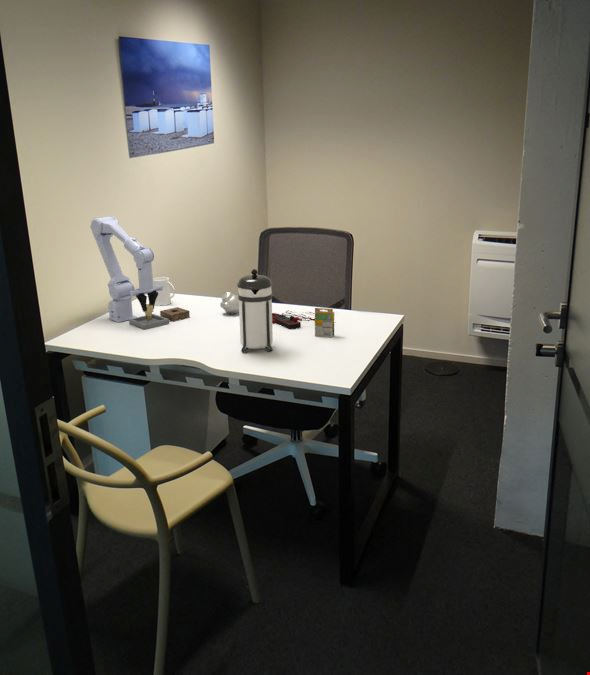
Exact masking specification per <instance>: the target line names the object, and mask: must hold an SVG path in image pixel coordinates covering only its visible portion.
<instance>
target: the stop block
mask: <svg viewBox="0 0 590 675" xmlns="http://www.w3.org/2000/svg"><path fill="white" fill-rule="evenodd" d="M159 316H161V317H164V318H167V319H169V320H170V321H169V322H172V321H173V322H176V321H175V320H177V321H180V320H179V319H181V320H184V319H183V318H186V319H188V318H187V317H190V316H191V315H190V310H187V309H184V308H182V307H177V306H175V307H173V308H168V309H163V310H160V311H159ZM190 318H191V317H190Z"/></svg>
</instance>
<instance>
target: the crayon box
mask: <svg viewBox="0 0 590 675" xmlns="http://www.w3.org/2000/svg"><path fill="white" fill-rule="evenodd" d="M314 314H315V315H314V319H315V321H314V336H315V337H319V338H320V337H321V338H322V337H324V338H332V337H335V322H334V321H335V311H334V309H333V308H321V307H320V308H319V307H314Z"/></svg>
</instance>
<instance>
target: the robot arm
mask: <svg viewBox="0 0 590 675" xmlns="http://www.w3.org/2000/svg"><path fill="white" fill-rule="evenodd" d="M90 230H91V233H92V234H93V237H94V240H95V242H96V245H97V247H98V249H99V250H98V251H99V252H100V255H101V258H102V260H103V262H104V265H105V267H106V270H107V273H108V275H109V277H110V279H109V282H108V283H107V287H108V294H109V295H110V298H111V301H109V302H108V305H107V306H108V314H109V316H108V317H109V318H108V319H109V320H111V321H114V322H116V323H120V322H125V321H129V319H133V318H137V316H136V315H134V313H133V311H134V310H133V304H132V303H133V301H132V298H133V297H136V298H137V300H138V302H139V304H140V307H141V310H142V312H143V311H147V306H146V304H147V299H148V304H151V305H153V310H154V309H155V306H156V305H155V301H156V298H157V296H158V292H156V291H162V290H163V286H161V285H159V286H153V278H154V277H153V276H154V275H153V266H152V262H153V261H154V260H155V254H154V252H153V250H152V248H150V247H146V246H144V245H143V244H141V243H140V242H139V241H138V240H137V238H136V237H130V236H129V235H128V233H127V232H125V230H124V229H123V228H122V227H121V225H120V223H119V220H118V219H117V218H116V217H115V216H113V215H110V216H104V217H99V218H96V217H95V218H93V219H92V220H91V224H90ZM113 236H114V237H116V239H118V240H120V241H121V242H122V243H123V247H124V249H125V250H126V251H127V252H129V254H130V255H132V256H133V261H134V262H135V266H136V268H137V275H138V288H136V287H135V285H134V284H133V282H132V281H131V280H130V277H128V276H126V275H125V274H124V273H123V271H122V269H121V266H120V263H119V261H118V258H117V255H116V253H115V250H114V248H113V246H112V243H111V238H112V237H113ZM135 288H136V289H135Z"/></svg>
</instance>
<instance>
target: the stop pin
mask: <svg viewBox="0 0 590 675" xmlns="http://www.w3.org/2000/svg"><path fill="white" fill-rule="evenodd" d="M146 306H147V311H143V310H142V312H143V313H144V314H145V315H144V316H145V317H146V320H147V321H150V320H152V314H153V313H154V309H153V305H151V304H149V303H146Z"/></svg>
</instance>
